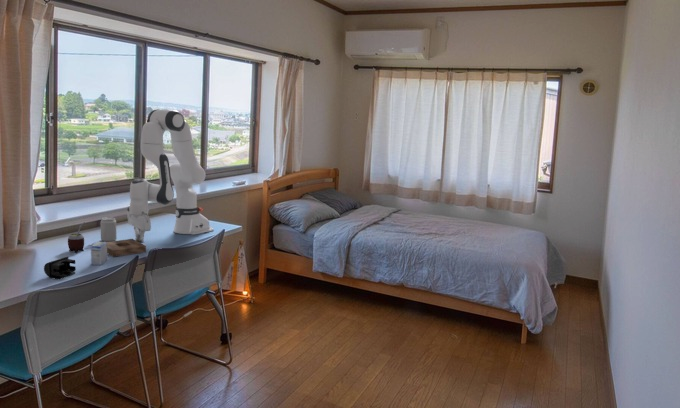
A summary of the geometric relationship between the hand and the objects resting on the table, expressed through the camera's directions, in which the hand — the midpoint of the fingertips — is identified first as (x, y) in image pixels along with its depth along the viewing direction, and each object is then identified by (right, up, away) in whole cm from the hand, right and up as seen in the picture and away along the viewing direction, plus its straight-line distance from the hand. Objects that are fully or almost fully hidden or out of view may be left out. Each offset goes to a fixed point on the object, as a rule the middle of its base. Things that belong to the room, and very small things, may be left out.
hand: (139, 236), depth 276 cm
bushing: (0, -3, +1) cm, 3 cm away
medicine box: (-4, -10, -36) cm, 38 cm away
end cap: (-12, -13, -56) cm, 58 cm away
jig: (-2, -6, -16) cm, 17 cm away
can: (-16, -3, -1) cm, 16 cm away
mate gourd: (-22, -6, -21) cm, 31 cm away
